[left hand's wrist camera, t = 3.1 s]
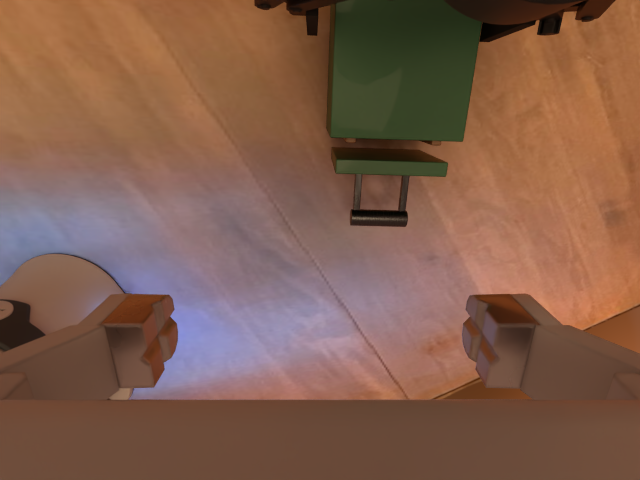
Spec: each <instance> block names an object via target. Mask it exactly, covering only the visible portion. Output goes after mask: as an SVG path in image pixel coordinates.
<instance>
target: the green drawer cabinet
mask: <svg viewBox="0 0 640 480" xmlns="http://www.w3.org/2000/svg"><path fill="white" fill-rule="evenodd" d="M481 26H482V22H480V21H477V20H474V19H472V18H469V17H467V16H465V15H463V14H461V13H459V12H458V11H456V10H455V9H453V8H452V7H451V6H450V5H448V4H447V3H446V2H445V1H444V0H393V1H388V0H347V1H343V2H339V3H335V4H331V13H330V41H329V69H328V97H327V125H326V128H327V131H328V133H329V135H330V137H331V138H362V139H394V140H426V141H458V142H462V141H463V138H464V132H465V126H466V119H467V113H468V107H469V101H470V94H471V88H472V82H473V76H474V69H475V63H476V57H477V51H478V44H479V38H480V32H481Z"/></svg>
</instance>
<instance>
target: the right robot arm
mask: <svg viewBox="0 0 640 480" xmlns="http://www.w3.org/2000/svg"><path fill="white" fill-rule="evenodd" d="M343 1H347V0H255V6H256V7H257V8H260V9H263V10H269V8H275V7H276V6H278V5H280V4H281V3H283V2H286V3H287V10H288V11H289V12H290V14H292V15H301V16H306V22H307V35H317V28H318V8H320V7H324V6H328V5H331V4H335V3H339V2H343ZM388 1H393V0H388ZM444 1H445V2H446V3H447V4H448V5H450V6H451V7H452V8H453V9H455V10H456V11H458V12H459V13H461V14H463V15H465V16H467V17H469V18H472V19H474V20H477V21H480V22H482V28H481V35H480V41H479V42H490V41H493V40H496V39H498V38H501V37H503V36H506V35H509V34H511V33H514V32H517V31H519V30H522V29H524V28H527V27H530V26H532V25H535V22H536V21H537V20H540V22H539V27H538V32H537V35H555V34H558V33H559V31H560V26H561V22H562V17H563V13H564V12H570V11H577V13H576V18H575V19H576V20H582V22H588V21H592V20H593V19H597V18H599V17H600V16H601V15H602V14H603V13H604V12H605V11H606V10H607V9H608V8H609V7H610V5H611V4H612V3H613V2H614V1H615V0H444Z"/></svg>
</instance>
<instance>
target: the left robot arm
mask: <svg viewBox="0 0 640 480" xmlns="http://www.w3.org/2000/svg"><path fill="white" fill-rule="evenodd" d="M173 311H174V305H173V299H172V298H171V296H170V295H155V294H125V293H124V292H123V291H122V290H121V289H120V287H119V286H118V285H117V284H116V282H115V281H114V280H113V279H112V278H111V277H110V276H109V275H108V274H107V273H106V272H104V271H103V270H102V269H100V268H99V267H97V266H96V265H94V264H92V263H90V262H88V261H86V260H83V259H81V258H78V257H74V256H70V255H64V254H46V255H41V256H37V257H34V258H32V259H30V260H28V261H26V262H25V263H23V264H22V265H21V266H20V267H19V268H18V269H17V270H16V271H15V272H14V274H13V275H12V276H11V277H10V278H9V279H8V280H7V281H6V282H5V283H4V284H2V285H1V286H0V480H640V354H639V353H637V352H634V351H632V350H629V349H627V348H624V347H622V346H619V345H617V344H614V343H612V342H609V341H607V340H604V339H602V338H599V337H597V336H594V335H592V334H589V333H587V332H584V331H582V330H579V329H577V328H574V327H572V326H570V325H562V324H561V323H560V322H559V321H558V320H557V319H556V318H554V317H553V316H552V315H551V314H550V313H549V312H548V311H547V310H546V309H545V308H543V307H542V306H541V305H540V304H539V303H538V302H537V301H536V300H535V299H534V298H532V297H531V296H530V295H528V294H488V295H470V296H469V298H468V300H467V304H466V311H467V312H468V314H469V315H470V317H469V318H468V319H467V320H466V321H465V322H464V323H463V330H462V339H463V346H464V349H465V352H466V354H467V355H468V357H469V358H470V359H472V360H473V361H475V362H476V371H477V373H478V374H479V376H480V378H481V379H482V381H483V383H484V385H485V386H486V387H487V388H521V391H523V392H524V393H525V394H527V395H528V396H529V397H531V398H532V399H533V400H128V399H129V398H130V397H131V395H132V392H133V388H152V387H154V386H155V385H156V383H157V381H158V380H159V378H160V376H161V374H162V373H163V371H164V362H165V361H167V360H168V359H170V358H171V357H172V355H173V354H174V352H175V349H176V345H177V341H178V329H177V323H176V322H175V321H174V320H173V319H172V318H171V317H170V315H171V314H172V312H173Z"/></svg>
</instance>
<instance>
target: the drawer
mask: <svg viewBox="0 0 640 480" xmlns="http://www.w3.org/2000/svg"><path fill="white" fill-rule="evenodd" d="M343 139H344V140H345V142H347V143H355V142H356V138H343ZM419 141H422V142H425V143H428V144H431V145H441V141H426V140H419ZM331 159H332V162H333V166H334V169H335V173H336V174H355V185H354V201H353V209H351V211H350V225H354V226H392V227H406V225H407V221H408V214H407V211H405V209H406V201H407V192H408V183H409V176H437V177H446V174H447V167H448V163H447V162H445V161H443V160H441V159H438V158H436V157H434V156H432V155H429V154H427V153H425V152H423V151H420V150H404V149H371V148H339V147H332V151H331ZM362 174H368V175H402V179H401V189H400V198H399V207H398V210H399V211H396V210H360V197H361V183H362Z"/></svg>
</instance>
